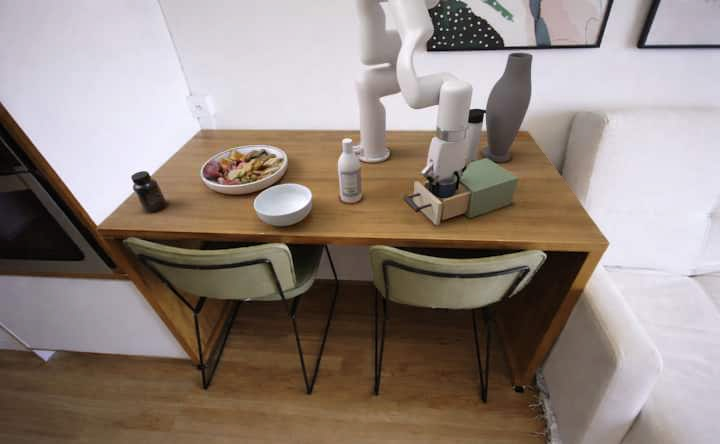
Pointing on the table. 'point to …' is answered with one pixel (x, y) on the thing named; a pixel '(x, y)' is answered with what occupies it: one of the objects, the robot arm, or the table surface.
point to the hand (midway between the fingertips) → (443, 190)
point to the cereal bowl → (283, 204)
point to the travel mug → (474, 132)
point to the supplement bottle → (148, 192)
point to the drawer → (438, 202)
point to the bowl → (244, 169)
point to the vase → (508, 106)
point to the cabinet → (488, 186)
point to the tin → (446, 185)
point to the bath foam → (349, 174)
